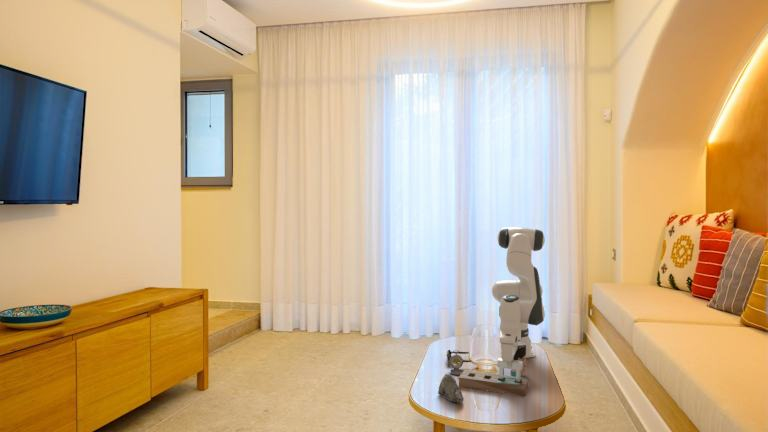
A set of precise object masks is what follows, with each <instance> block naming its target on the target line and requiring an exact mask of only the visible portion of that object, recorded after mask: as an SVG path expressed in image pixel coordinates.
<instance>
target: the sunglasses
mask: <svg viewBox="0 0 768 432" xmlns="http://www.w3.org/2000/svg"><path fill="white" fill-rule="evenodd" d="M456 352H457V355H458V354H459V355H461V354H464V355H466V354H470V353H469V352H470V351H459V353H458V351H454V352H453V351H451V350H450V349H448V350H447V352H446V359H447V363H448V366H450V364H449V360H450V358H451V357H452V354H455V353H456ZM471 361H472V360H464V359H463V363H472V362H471ZM458 363H460V361H459V360H458ZM450 367H451V366H450Z"/></svg>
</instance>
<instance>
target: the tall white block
mask: <svg viewBox="0 0 768 432" xmlns="http://www.w3.org/2000/svg"><path fill="white" fill-rule="evenodd" d="M511 363H512V367H511V368H507V362H503V361H502V357H501V358H500V357H498V359H497V368H499V369H498V375H499V379H503V378H504V375H505V369H508V370H509V369H510V370H511V369H516V381H518V382H520V380H521V370H522V368H523V361H518V360H512V361H511Z"/></svg>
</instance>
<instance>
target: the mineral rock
mask: <svg viewBox="0 0 768 432" xmlns="http://www.w3.org/2000/svg"><path fill="white" fill-rule="evenodd" d="M437 392H438V393H437V394H438V395H440V396H442V397H443V398H444V399H446V400H448V401H449V402H456V403H460V404H463V403H464V400H465V399H464V396H463V392H462V390H461V387H459V384H458V382H457V380H456V379H455V377H453V374H449V373H445V374H444V376H442V379H441V381H440V384H439V386H438V391H437Z"/></svg>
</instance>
